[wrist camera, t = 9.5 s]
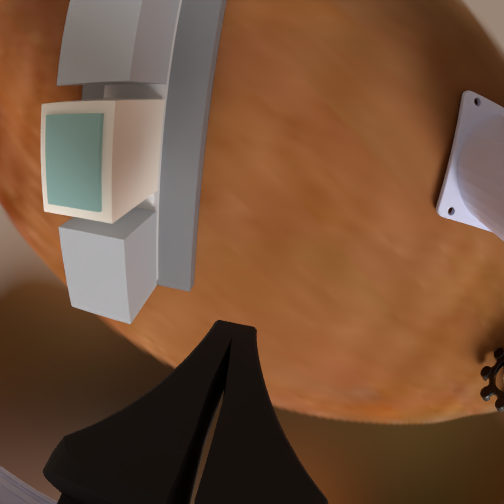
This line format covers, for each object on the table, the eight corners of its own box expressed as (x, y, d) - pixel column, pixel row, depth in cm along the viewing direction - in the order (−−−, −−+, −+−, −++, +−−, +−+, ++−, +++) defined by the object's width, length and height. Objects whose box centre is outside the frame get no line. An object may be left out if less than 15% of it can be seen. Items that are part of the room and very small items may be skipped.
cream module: (165, 99, 14) (113, 100, 10) (157, 190, 17) (110, 225, 12) (101, 98, 14) (38, 104, 10) (97, 182, 17) (41, 212, 12)
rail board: (232, -28, 12) (206, -75, 7) (193, 283, 21) (165, 339, 16) (109, -18, 12) (55, -42, 7) (93, 261, 21) (49, 304, 16)
